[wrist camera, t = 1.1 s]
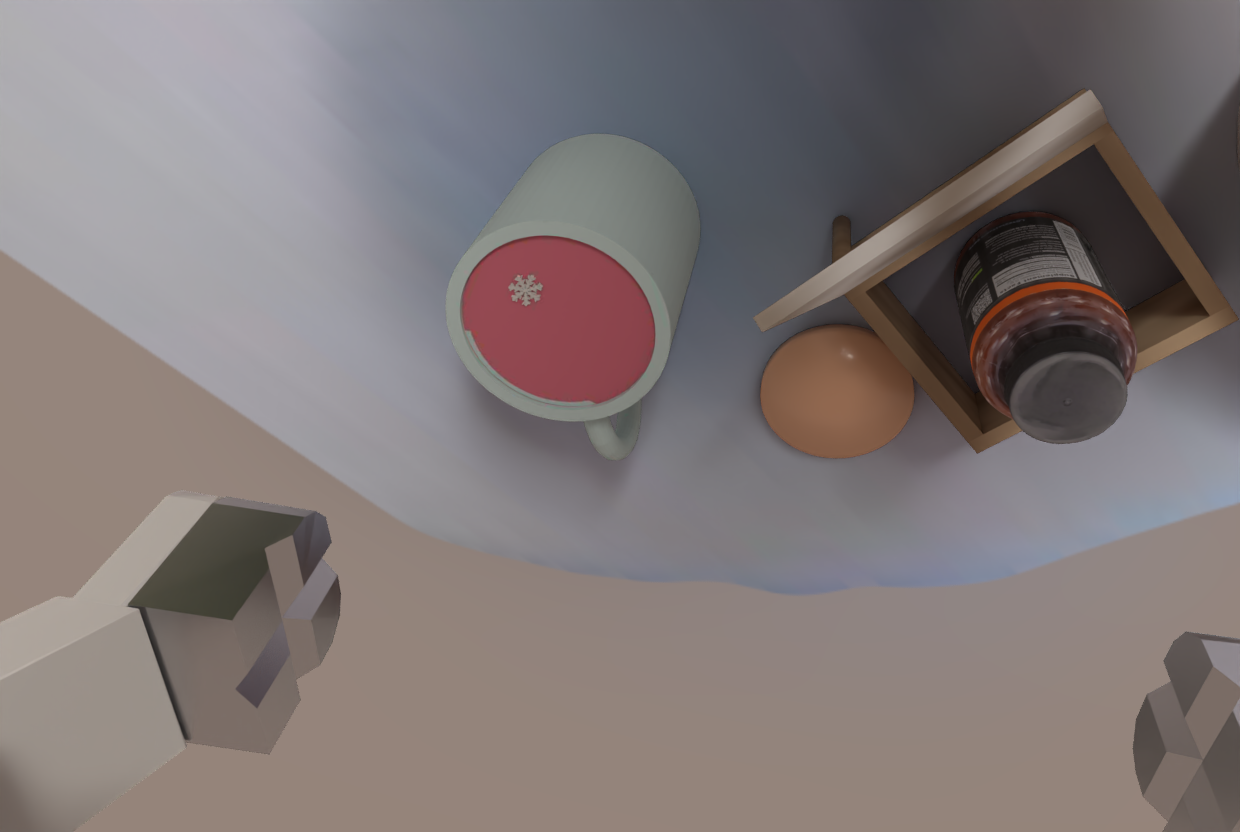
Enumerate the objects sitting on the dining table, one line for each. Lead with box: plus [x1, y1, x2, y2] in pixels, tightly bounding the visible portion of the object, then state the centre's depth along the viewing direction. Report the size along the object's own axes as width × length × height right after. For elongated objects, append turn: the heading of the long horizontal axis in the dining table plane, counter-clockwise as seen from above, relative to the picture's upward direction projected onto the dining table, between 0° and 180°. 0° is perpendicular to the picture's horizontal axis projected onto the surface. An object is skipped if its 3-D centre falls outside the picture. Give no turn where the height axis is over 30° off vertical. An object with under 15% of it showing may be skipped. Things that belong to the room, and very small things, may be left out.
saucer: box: [760, 324, 914, 458], centre depth 49 cm, size 8×8×1 cm
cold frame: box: [753, 89, 1239, 454], centre depth 38 cm, size 12×16×14 cm
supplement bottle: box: [954, 211, 1138, 444], centre depth 40 cm, size 6×6×11 cm
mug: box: [446, 134, 701, 460], centre depth 44 cm, size 14×9×10 cm
